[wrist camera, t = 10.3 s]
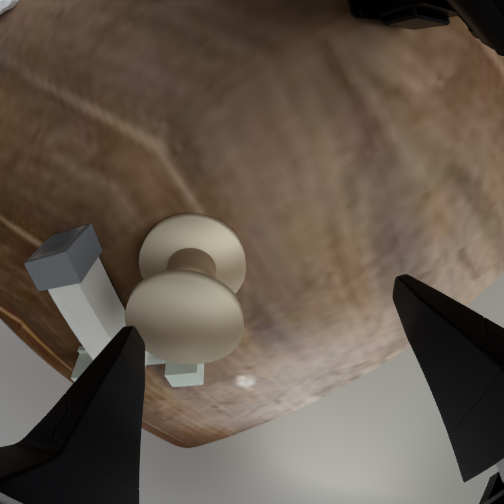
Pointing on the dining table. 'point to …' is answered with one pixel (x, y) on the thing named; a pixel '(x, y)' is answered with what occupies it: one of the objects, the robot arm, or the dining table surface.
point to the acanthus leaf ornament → (7, 5)
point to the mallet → (79, 286)
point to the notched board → (173, 371)
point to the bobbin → (189, 290)
